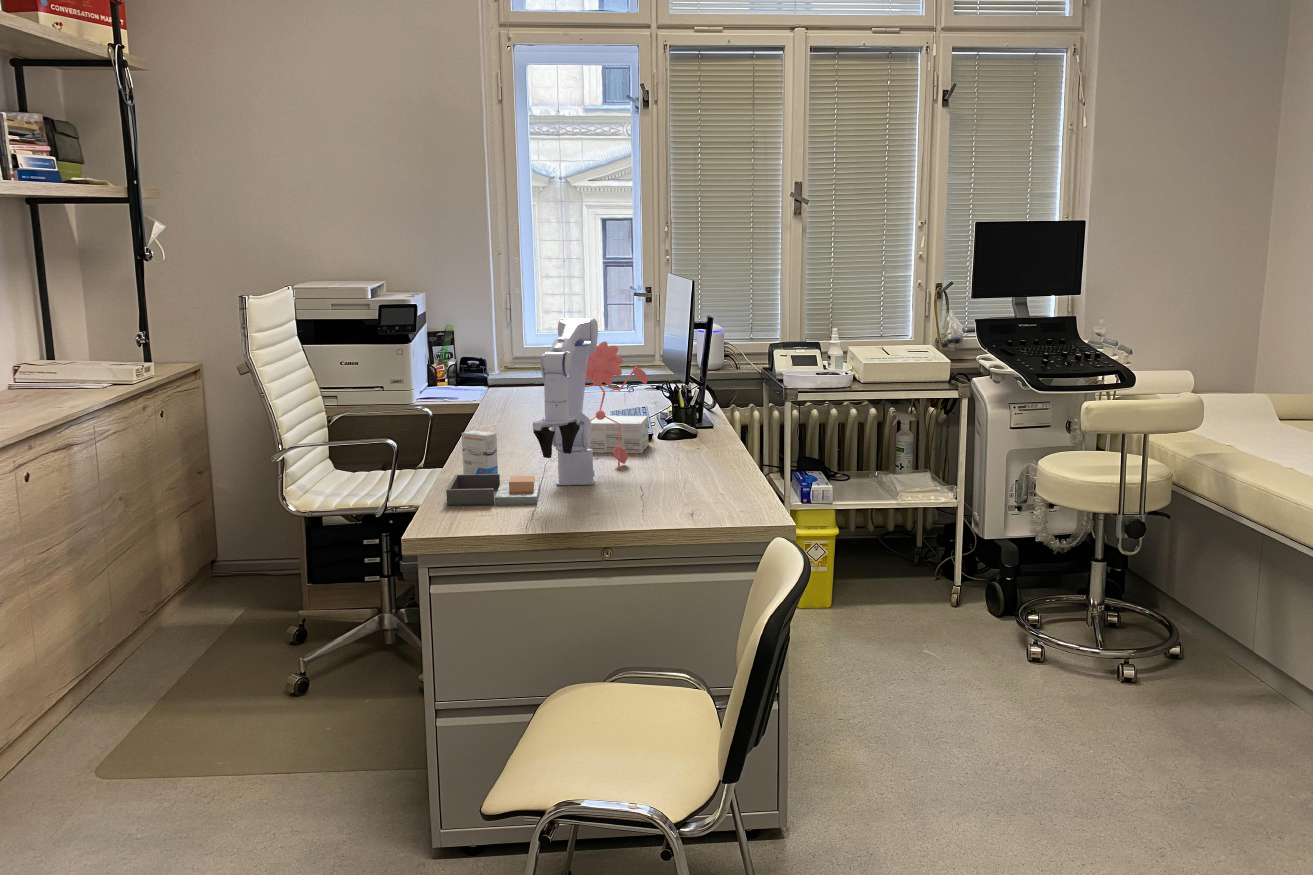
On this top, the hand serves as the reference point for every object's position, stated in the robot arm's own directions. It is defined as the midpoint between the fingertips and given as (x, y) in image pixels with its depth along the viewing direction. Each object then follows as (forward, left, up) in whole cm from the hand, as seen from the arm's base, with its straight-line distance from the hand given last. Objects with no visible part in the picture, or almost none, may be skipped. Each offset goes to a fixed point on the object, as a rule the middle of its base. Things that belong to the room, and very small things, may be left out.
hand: (557, 455), depth 249 cm
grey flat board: (+10, 0, -10) cm, 14 cm away
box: (+21, 0, -10) cm, 23 cm away
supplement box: (-16, -56, -11) cm, 60 cm away
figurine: (-11, -34, -11) cm, 38 cm away
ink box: (+22, -24, -11) cm, 34 cm away
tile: (+9, 0, -8) cm, 12 cm away
